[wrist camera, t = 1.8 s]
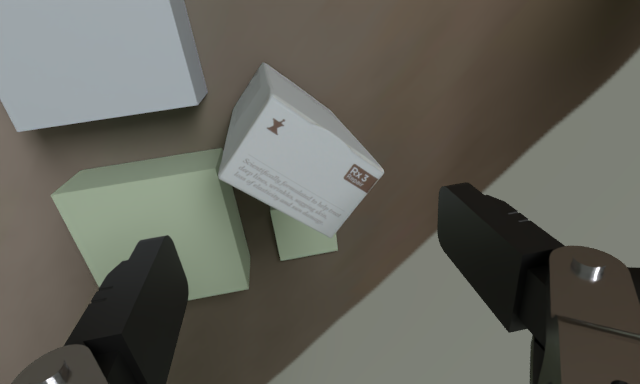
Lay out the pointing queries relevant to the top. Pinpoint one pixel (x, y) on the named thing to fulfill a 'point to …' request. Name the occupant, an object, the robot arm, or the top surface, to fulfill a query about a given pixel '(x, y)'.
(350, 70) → the top surface
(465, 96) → the top surface
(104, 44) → the blue-grey riser block
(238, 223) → the sage riser block
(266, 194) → the skincare box
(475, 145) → the top surface
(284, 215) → the sage tile
